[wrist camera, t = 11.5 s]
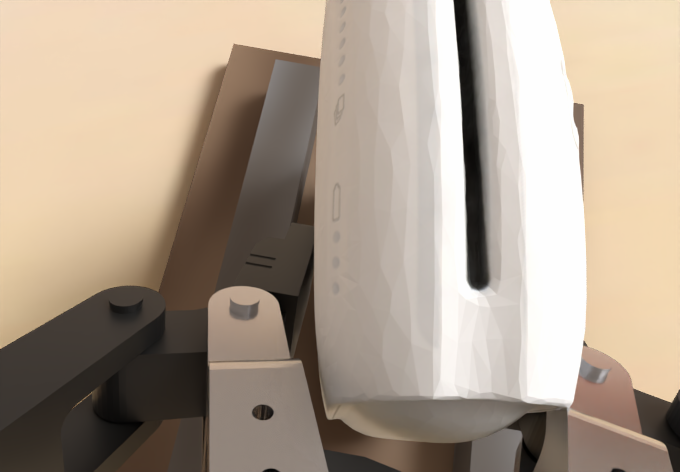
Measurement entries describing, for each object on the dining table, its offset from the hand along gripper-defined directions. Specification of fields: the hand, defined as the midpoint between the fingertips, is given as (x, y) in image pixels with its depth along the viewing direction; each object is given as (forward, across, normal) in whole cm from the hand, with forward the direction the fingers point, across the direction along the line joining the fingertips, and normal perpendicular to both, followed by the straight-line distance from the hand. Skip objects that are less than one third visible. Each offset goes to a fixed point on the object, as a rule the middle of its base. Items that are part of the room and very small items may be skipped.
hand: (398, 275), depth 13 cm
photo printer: (+5, 0, +3) cm, 6 cm away
